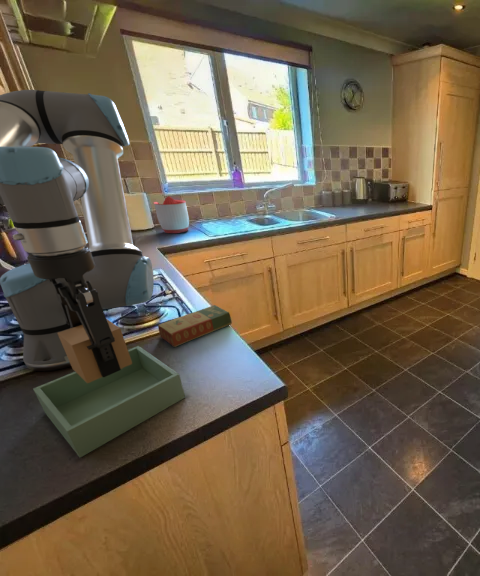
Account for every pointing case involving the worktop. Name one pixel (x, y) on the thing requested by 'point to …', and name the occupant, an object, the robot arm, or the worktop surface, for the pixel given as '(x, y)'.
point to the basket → (109, 401)
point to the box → (83, 357)
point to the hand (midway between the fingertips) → (102, 365)
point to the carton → (194, 325)
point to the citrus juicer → (172, 215)
